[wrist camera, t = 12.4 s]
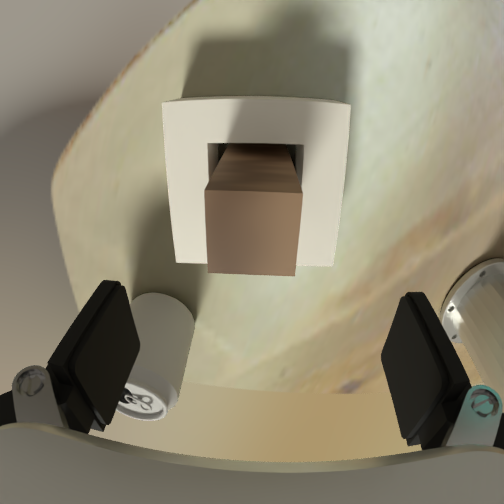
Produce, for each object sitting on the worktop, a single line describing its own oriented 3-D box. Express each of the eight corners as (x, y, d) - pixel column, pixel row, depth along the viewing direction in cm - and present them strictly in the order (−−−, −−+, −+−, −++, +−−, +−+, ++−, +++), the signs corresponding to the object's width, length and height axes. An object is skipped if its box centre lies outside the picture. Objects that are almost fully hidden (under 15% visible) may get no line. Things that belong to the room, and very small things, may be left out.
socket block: (334, 100, 22) (350, 104, 18) (322, 236, 28) (332, 266, 24) (180, 98, 23) (162, 102, 18) (189, 233, 29) (176, 262, 24)
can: (132, 279, 32) (87, 366, 21) (202, 298, 32) (179, 394, 22) (130, 328, 35) (96, 410, 25) (190, 345, 36) (171, 433, 26)
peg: (285, 143, 24) (303, 193, 14) (282, 194, 27) (294, 276, 16) (230, 141, 24) (204, 190, 14) (230, 192, 27) (207, 272, 16)
